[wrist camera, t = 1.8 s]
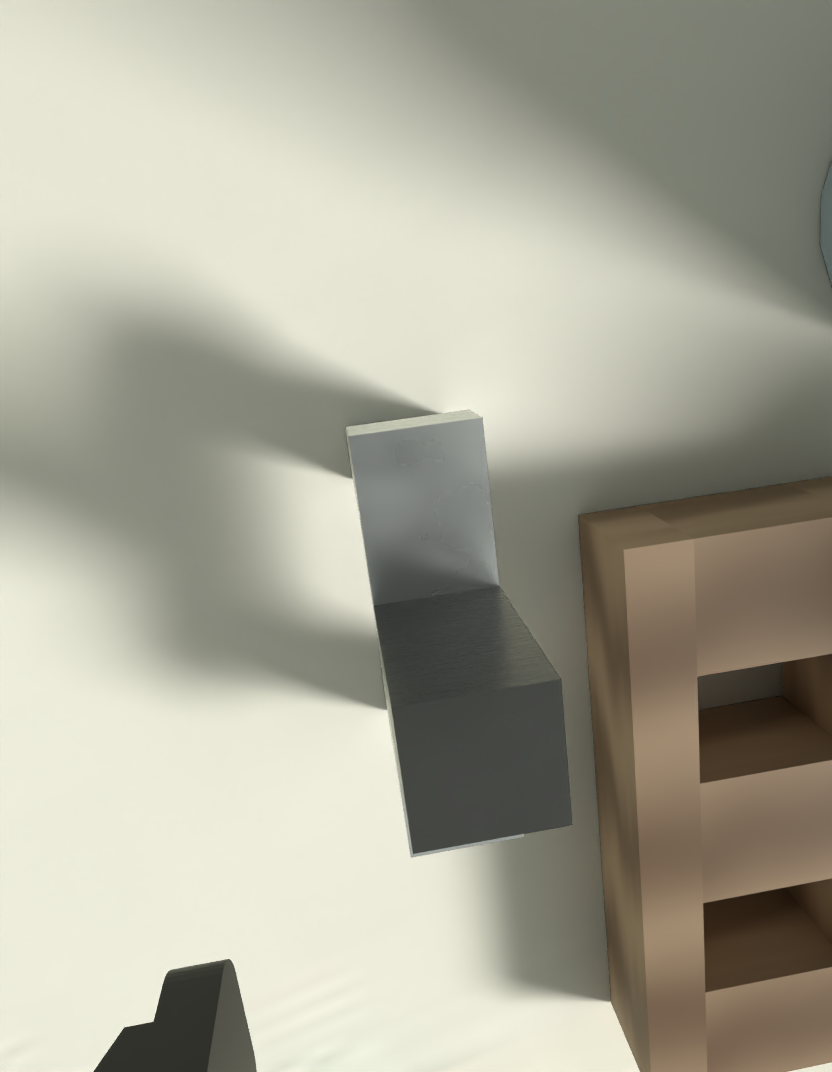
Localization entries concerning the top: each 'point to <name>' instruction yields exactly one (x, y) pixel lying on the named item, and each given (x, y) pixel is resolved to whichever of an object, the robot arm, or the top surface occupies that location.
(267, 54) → the top surface
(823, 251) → the spray bottle
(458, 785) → the clip
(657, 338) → the top surface
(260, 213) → the top surface
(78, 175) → the top surface
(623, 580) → the wooden block with holes
